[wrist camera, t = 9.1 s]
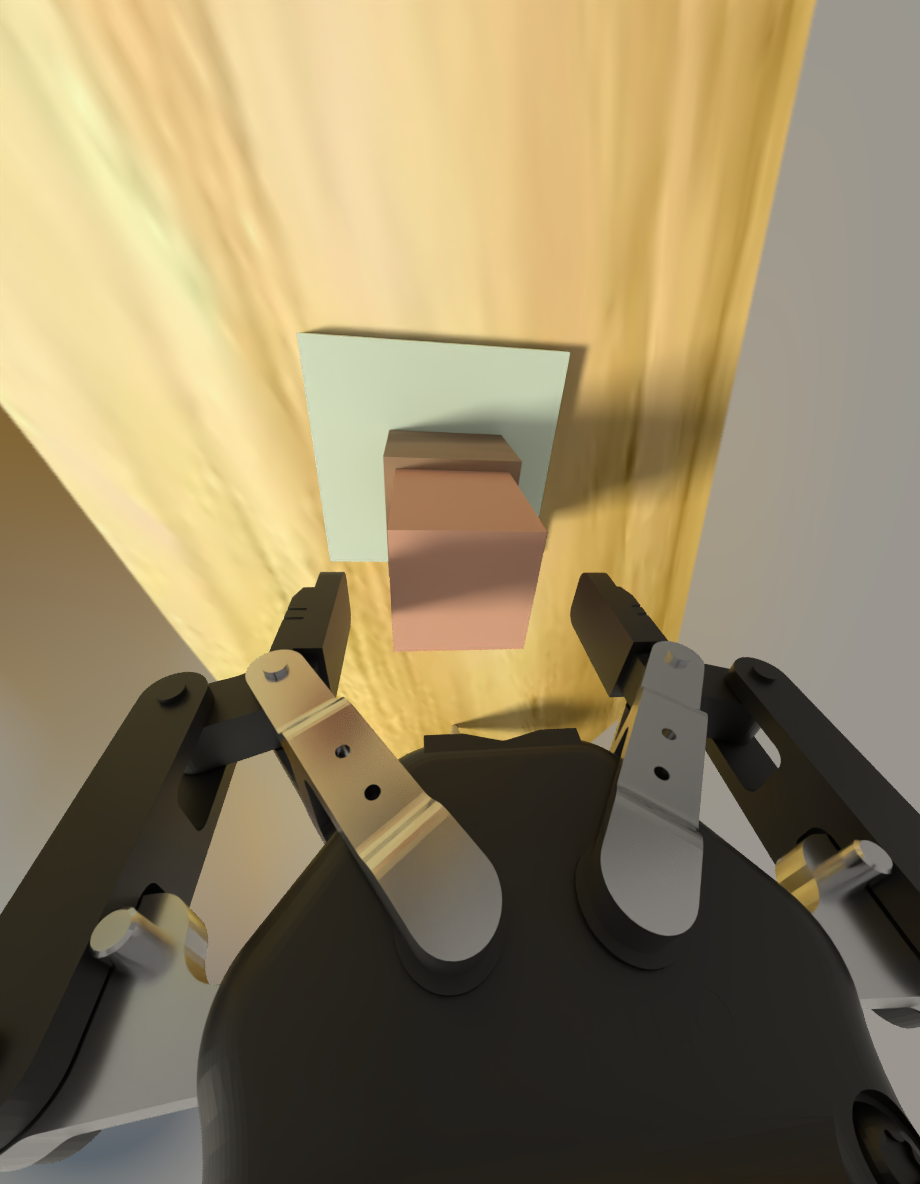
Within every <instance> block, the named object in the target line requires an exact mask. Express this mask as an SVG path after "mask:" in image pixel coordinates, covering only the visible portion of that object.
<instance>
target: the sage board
mask: <svg viewBox="0 0 920 1184" xmlns="http://www.w3.org/2000/svg"><path fill="white" fill-rule="evenodd" d="M297 339H298V346H299V353H300V360H301V366H302V373H303V380H304V387H305V393H306V400H307V407H308V414H309V420H310V427H311V434H312V441H313V447H314V454H315V461H316V468H317V474H318V481H319V488H320V495H321V502H322V508H323V515H324V522H325V529H326V535H327V542H328V549H329V556H330V561H353V562H388V545H387V525H386V505H385V485H384V465H383V455H384V450H385V446H386V442H387V438H388V433H389V430H402V431H425V432H448V433H471V434H494V435H502V437H503V438H504V439H505V440H506V442H507V443H508V444H509V446H510V447H511V448H512V449H513V451H514V452H515V453H516V454H517V456H518V457H519V458H520V459H521V461H522V466H521V473H520V479H519V486H518V487H519V488H520V490H521V491H522V493H523V494H524V496H525V497H526V499H527V501H528V502H529V504H530V505H531V507H532V508H533V510H534V511H535V513H536V515H537V516H538V518H539V514H540V509H541V504H542V498H543V493H544V488H545V483H546V478H547V472H548V467H549V462H550V457H551V451H552V446H553V441H554V436H555V430H556V425H557V420H558V415H559V409H560V404H561V399H562V394H563V389H564V383H565V378H566V373H567V368H568V362H569V357H570V352H566V351H558V350H544V349H529V348H515V347H501V346H487V345H473V344H459V343H445V342H430V341H416V340H402V339H388V338H374V337H360V336H346V335H331V334H317V333H303V332H302V333H297Z"/></svg>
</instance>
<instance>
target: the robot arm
mask: <svg viewBox="0 0 920 1184" xmlns="http://www.w3.org/2000/svg"><path fill="white" fill-rule="evenodd" d="M646 614H647V613H646V612H645V611H644V609H643V608H642V607H640V604H639V603H638V602H637V600H636V599H635V598H634V597H633V595H631V594H630V593H628V592H627V591H625V590H624V589H623V588H621V587H617V586H616V585H615V584H614V582H613V581H612V580H611V578H610V577H609V576H608V574H606V573H583V574H582V575H581V576H580V579H579V582H578V586H577V589H576V593H575V596H574V600H573V603H572V606H571V612H570V616H571V623H572V626H573V628H574V630H575V631H576V633H577V635H578V637H579V639H580V641H581V643H582V645H583V647H584V649H585V651H586V653H587V655H588V657H589V659H590V661H591V663H592V664H593V666H594V668H595V670H596V672H597V674H598V676H599V678H600V680H601V682H602V684H603V686H604V688H605V690H606V692H607V694H608V696H609V697H625V699H626V704H625V706H624V708H623V710H622V714H621V717H620V720H619V723H618V726H617V729H616V732H615V735H614V738H613V742H612V745H611V748H610V751H608V750H606V749H604V748H602V747H600V746H598V745H595V744H592V743H589V742H586V741H581V739H580V737H579V734H578V732H577V729H576V728H566V729H545V730H538V731H534V732H531V733H528V734H525V735H522V736H518V737H515V738H512V739H509V740H504V741H501V740H495V739H490V738H484V737H479V736H473V735H468V734H444V735H424V748H421V749H418V750H415V751H413V752H411V753H409V754H406V755H405V756H403V757H401V758H400V759H397V758H396V757H395V756H394V754H393V753H392V752H391V751H390V750H389V748H388V747H387V746H386V745H385V744H384V742H383V741H382V740H381V739H380V738H379V736H378V735H377V734H376V733H375V732H374V730H373V729H372V728H371V727H370V725H369V724H368V723H367V722H366V721H365V719H364V718H363V717H362V716H361V715H360V713H359V712H358V711H357V710H356V709H355V707H354V706H353V705H352V704H351V703H350V702H349V700H347V699H346V698H344V697H342V698H340V699H337V698H336V695H337V690H338V685H339V680H340V675H341V670H342V665H343V660H344V655H345V650H346V646H347V641H348V636H349V631H350V624H351V611H350V603H349V595H348V587H347V580H346V575H345V572H320V574H319V577H318V580H317V582H316V585H315V587H304V588H302V589H301V590H300V591H299V592H298V593H297V594H296V595H295V596H293V597H292V600H291V602H290V604H289V607H288V610H287V611H286V614H285V616H284V620H283V621H282V623H281V625H280V628H279V630H278V632H277V635H276V637H275V639H274V642H273V644H272V646H271V649H270V651H269V653H266V654H264V655H262V656H260V657H258V658H257V659H256V660H254V661H253V662H252V663H251V664H250V666H249V667H248V669H247V671H246V673H244V674H242V675H239V676H236V677H232V678H229V679H225V680H221V681H217V682H213V683H209V684H208V682H207V680H206V678H205V677H204V676H202V675H201V674H198V673H194V672H182V673H177V674H173V675H170V676H167V677H165V678H162V679H160V680H158V681H156V682H155V683H153V684H152V685H151V686H149V687H148V688H147V689H146V690H145V691H144V692H143V693H142V694H141V695H140V697H139V698H138V700H137V702H136V703H135V705H134V706H133V708H132V709H131V711H130V712H129V714H128V715H127V717H126V719H125V720H124V722H123V723H122V725H121V727H120V728H119V730H118V731H117V733H116V734H115V736H114V738H113V739H112V741H111V742H110V744H109V745H108V747H107V749H106V750H105V752H104V753H103V755H102V756H101V758H100V759H99V761H98V763H97V764H96V766H95V767H94V769H93V770H92V772H91V774H90V775H89V777H88V779H87V780H86V781H85V783H84V785H83V786H82V788H81V789H80V791H79V792H78V794H77V795H76V797H75V799H74V800H73V802H72V803H71V805H70V806H69V808H68V810H67V811H66V813H65V814H64V816H63V818H62V819H61V821H60V822H59V824H58V825H57V827H56V828H55V830H54V832H53V833H52V835H51V836H50V838H49V839H48V841H47V843H46V844H45V846H44V847H43V849H42V850H41V852H40V854H39V855H38V857H37V858H36V860H35V861H34V863H33V865H32V866H31V868H30V869H29V871H28V873H27V874H26V875H25V877H24V879H23V880H22V882H21V884H20V885H19V886H18V888H17V890H16V891H15V893H14V894H13V896H12V898H11V899H10V901H9V902H8V904H7V905H6V907H5V908H4V910H3V912H2V913H1V915H0V1172H8V1171H15V1170H19V1169H23V1168H25V1167H27V1166H29V1165H33V1164H46V1163H54V1162H57V1161H61V1160H63V1159H65V1158H68V1157H70V1156H71V1155H73V1154H74V1153H76V1152H78V1151H79V1150H81V1149H82V1148H83V1147H84V1146H85V1145H87V1144H88V1143H89V1142H90V1141H91V1140H92V1139H93V1138H94V1137H95V1136H96V1135H97V1134H98V1133H99V1132H100V1131H101V1130H102V1129H105V1128H109V1127H113V1126H117V1125H122V1124H125V1123H130V1122H134V1121H138V1120H142V1119H146V1118H151V1117H155V1116H159V1115H163V1114H167V1113H172V1112H175V1111H180V1110H184V1109H188V1108H193V1107H196V1106H198V1109H199V1116H200V1124H201V1133H202V1148H203V1180H202V1184H920V1136H919V1135H918V1133H917V1132H916V1130H915V1129H914V1127H913V1126H912V1124H911V1123H910V1121H909V1119H908V1118H907V1116H906V1114H905V1113H904V1111H903V1109H902V1107H901V1105H900V1103H899V1101H898V1099H897V1097H896V1095H895V1093H894V1091H893V1089H892V1087H891V1084H890V1082H889V1080H888V1078H887V1076H886V1074H885V1072H884V1070H883V1067H882V1064H881V1062H880V1060H879V1057H878V1055H877V1052H876V1050H875V1048H874V1045H873V1042H872V1039H871V1037H870V1034H869V1031H868V1028H867V1025H866V1022H865V1018H864V1014H863V1011H862V1009H872V1010H873V1011H874V1012H875V1013H876V1014H878V1015H879V1016H880V1017H882V1018H883V1019H885V1020H886V1021H888V1022H890V1023H892V1024H894V1025H897V1026H899V1027H903V1028H916V1027H920V814H919V813H918V812H917V811H916V810H915V809H914V808H913V807H912V806H911V805H910V804H909V803H908V802H907V801H906V800H905V799H904V798H903V797H902V796H901V795H900V794H899V792H898V791H897V790H896V789H895V788H893V786H892V785H891V784H890V783H889V782H888V781H887V780H886V779H885V778H884V777H883V776H882V775H881V774H880V773H879V772H878V771H877V770H876V769H875V767H874V766H872V764H871V763H870V762H869V761H868V760H867V759H866V758H865V757H864V756H863V755H862V754H861V753H860V752H859V751H858V750H857V749H856V748H855V747H854V746H853V745H852V744H851V743H850V742H849V740H848V739H847V738H845V736H844V735H843V734H842V733H841V732H840V731H839V730H838V729H837V728H836V727H835V726H834V725H833V724H832V723H831V722H830V721H829V720H828V719H827V718H826V717H825V716H824V715H823V714H822V712H821V711H820V710H819V709H817V707H816V706H815V705H814V704H813V703H812V702H811V701H810V700H809V699H808V698H807V697H806V696H805V695H804V694H803V693H802V692H801V691H800V690H799V689H798V687H797V686H795V684H794V683H793V682H792V681H791V680H790V679H789V678H788V677H787V676H786V675H785V674H784V673H783V672H781V671H780V670H779V669H777V668H776V667H774V666H773V665H771V664H769V663H767V662H764V661H761V660H759V659H755V658H749V657H742V658H739V659H737V660H736V661H735V662H734V664H733V665H732V667H731V668H730V669H727V668H722V667H718V666H713V665H708V664H704V662H703V660H702V659H701V658H700V656H699V655H698V654H696V653H695V652H694V651H693V650H691V649H690V648H688V647H686V646H684V645H682V644H679V643H676V642H671V641H668V640H667V639H666V637H665V636H664V635H663V634H662V632H661V631H660V630H659V629H658V627H657V626H656V625H655V623H654V622H653V621H652V620H651V618H650V617H649V616H648V615H646ZM760 728H762V730H763V731H764V732H765V733H766V735H767V736H768V737H769V739H770V740H771V741H772V742H773V743H774V745H775V746H776V748H777V749H778V751H779V754H780V757H781V764H780V767H779V768H777V767H776V765H775V764H774V763H773V761H772V760H771V758H770V757H769V756H768V754H767V753H766V752H765V750H764V749H763V748H762V746H761V745H760V744H759V742H758V741H757V740H756V738H755V737H754V735H755V734H756V733H757V732H758V731H759V729H760ZM270 750H273V751H274V753H275V755H276V756H277V758H278V760H279V762H280V763H281V765H282V767H283V769H284V770H285V772H286V774H287V775H288V777H289V779H290V780H291V782H292V784H293V786H294V788H295V789H296V791H297V793H298V794H299V796H300V798H301V800H302V802H303V804H304V806H305V808H306V810H307V812H308V815H309V817H310V819H311V821H312V823H313V825H314V826H315V828H316V830H317V832H318V834H319V835H320V837H321V839H322V841H323V842H324V844H325V845H324V846H323V848H322V849H321V850H320V851H319V853H318V854H317V855H316V856H315V858H314V859H313V860H312V861H311V863H310V864H309V865H308V866H307V868H306V869H305V870H304V871H303V873H302V874H301V875H300V876H299V878H298V879H297V880H296V881H295V883H294V884H293V885H292V886H291V888H290V889H289V890H288V891H287V893H286V894H285V895H284V896H283V898H282V899H281V900H280V902H279V903H278V904H277V905H276V906H275V908H274V909H273V910H272V911H271V913H270V914H269V915H268V917H267V918H266V919H265V920H264V921H263V923H262V924H261V925H260V926H259V928H258V929H257V930H256V932H255V933H254V934H253V935H252V936H251V938H250V939H249V940H248V941H247V943H246V944H245V945H244V947H243V948H242V949H241V951H240V952H239V953H238V955H237V956H236V958H235V959H234V961H233V962H232V964H231V966H230V967H229V969H228V971H227V973H226V974H225V976H224V978H223V980H222V982H221V984H217V985H211V984H209V982H208V980H207V976H206V971H205V961H206V954H207V948H208V933H207V929H206V926H205V924H204V922H203V921H202V920H201V919H200V918H199V917H198V916H197V915H196V914H195V913H194V912H193V911H192V910H191V909H190V908H189V907H190V904H191V900H192V898H193V894H194V891H195V888H196V885H197V882H198V879H199V876H200V873H201V870H202V867H203V864H204V861H205V857H206V855H207V851H208V848H209V845H210V842H211V839H212V836H213V833H214V830H215V827H216V824H217V821H218V818H219V815H220V812H221V809H222V806H223V803H224V800H225V797H226V794H227V790H228V788H229V784H230V781H231V778H232V775H233V772H234V769H235V766H236V763H237V761H240V760H243V759H246V758H249V757H252V756H255V755H258V754H261V753H264V752H267V751H270ZM705 750H706V752H707V754H708V755H709V757H710V758H711V760H712V762H713V763H714V765H715V767H716V768H717V770H718V772H719V773H720V775H721V776H722V778H723V780H724V781H725V783H726V784H727V786H728V788H729V790H730V791H731V793H732V794H733V796H734V798H735V799H736V801H737V803H738V804H739V806H740V807H741V809H742V811H743V813H744V814H745V816H746V817H747V819H748V821H749V822H750V824H751V826H752V827H753V829H754V831H755V832H756V834H757V835H758V837H759V839H760V840H761V842H762V844H763V845H764V847H765V849H766V850H767V852H768V853H769V855H770V857H771V858H772V860H773V862H774V863H775V865H776V866H775V873H776V879H777V881H775V880H774V879H773V878H771V877H770V876H769V875H767V874H766V873H765V872H764V871H763V870H761V869H760V868H759V867H758V866H756V865H755V864H754V863H752V862H751V861H750V860H749V859H747V858H746V857H745V856H744V855H742V854H741V853H740V852H739V851H737V850H736V849H735V848H734V847H732V846H731V845H730V844H729V843H727V842H726V841H725V840H723V839H722V838H721V837H719V836H718V835H717V834H716V833H715V832H713V831H712V830H711V829H710V828H708V827H707V826H706V825H704V824H703V823H702V822H701V821H699V813H700V802H701V791H702V778H703V768H704V757H705Z"/></svg>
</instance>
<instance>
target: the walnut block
mask: <svg viewBox="0 0 920 1184" xmlns="http://www.w3.org/2000/svg"><path fill="white" fill-rule="evenodd" d="M383 465H384V485H385V505H386V525H387V529H388V521H389V513H390V506H391V498H392V490H393V482H394V475H395V469H415V470H449V471H483V472H509V473H510V474H511V476H512V477H513V479H514V480H515V482H516V483H517V485H518V486H519V479H520V473H521V466H522V461H521V459H520V458H519V457H518V456H517V454H516V453H515V452H514V451H513V449H512V448H511V447H510V446H509V444H508V443H507V442H506V440H505V439H504V438H503V437H502V435H494V434H471V433H448V432H425V431H402V430H389V433H388V438H387V442H386V446H385V450H384V455H383ZM387 545H388V533H387ZM388 566H389V552H388ZM389 577H390V571H389Z"/></svg>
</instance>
